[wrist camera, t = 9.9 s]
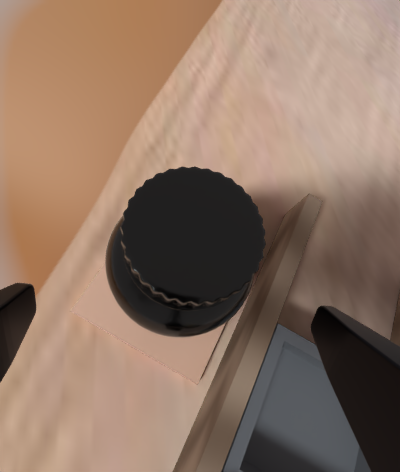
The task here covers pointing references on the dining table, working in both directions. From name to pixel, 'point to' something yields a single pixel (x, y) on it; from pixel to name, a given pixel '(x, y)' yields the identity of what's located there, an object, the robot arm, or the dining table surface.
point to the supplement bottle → (185, 252)
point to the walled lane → (251, 345)
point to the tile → (145, 332)
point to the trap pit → (293, 416)
